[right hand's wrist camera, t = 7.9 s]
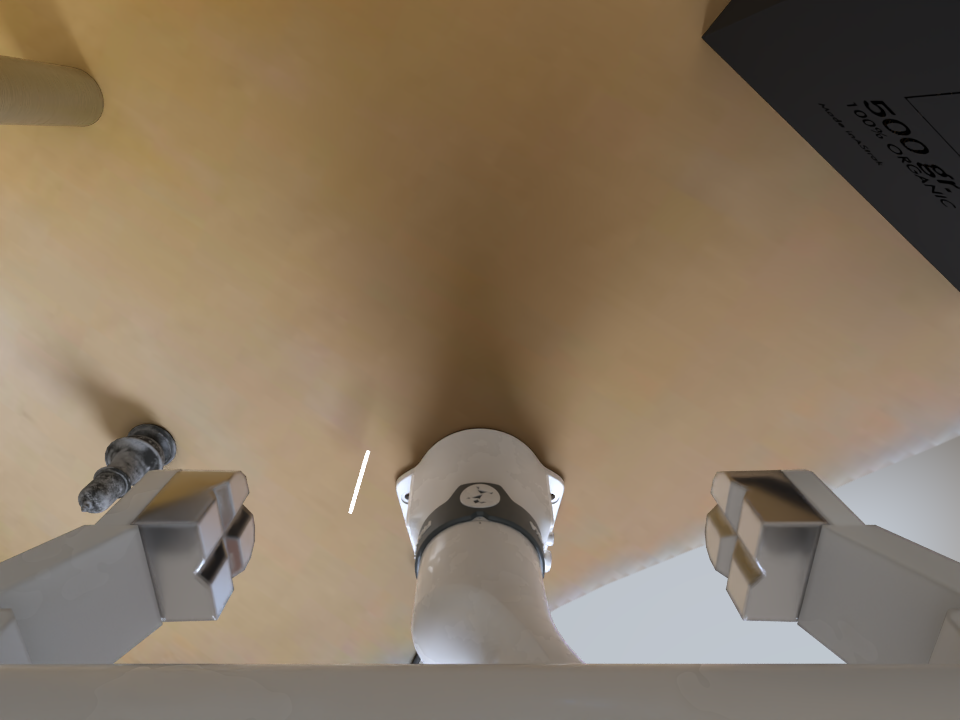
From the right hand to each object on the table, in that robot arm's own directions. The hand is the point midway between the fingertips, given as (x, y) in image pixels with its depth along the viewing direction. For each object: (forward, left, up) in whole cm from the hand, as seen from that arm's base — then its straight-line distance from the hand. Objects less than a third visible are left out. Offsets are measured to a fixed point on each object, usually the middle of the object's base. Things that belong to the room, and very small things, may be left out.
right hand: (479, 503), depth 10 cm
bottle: (+9, +36, -48) cm, 61 cm away
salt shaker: (-26, +36, -48) cm, 65 cm away
